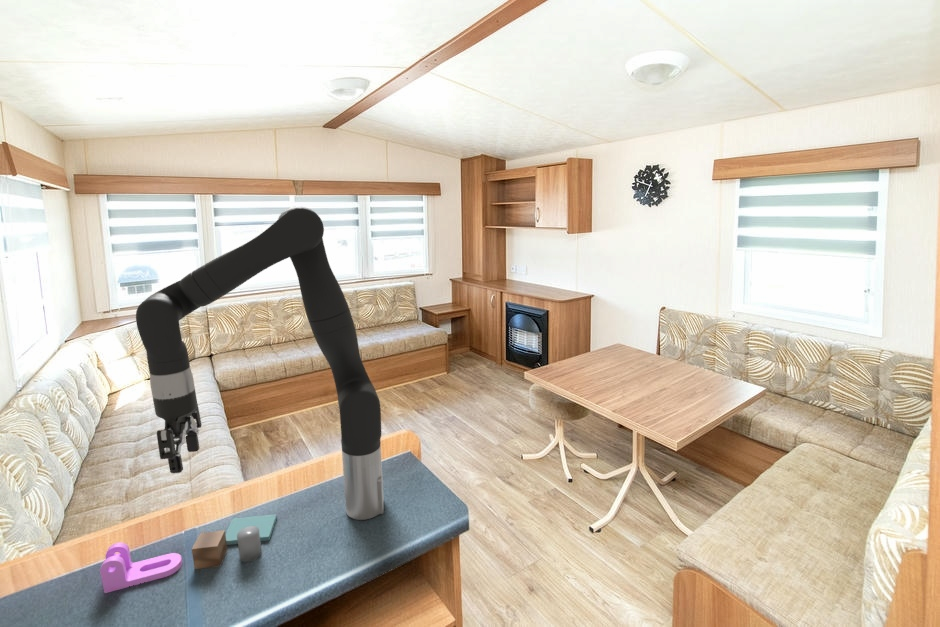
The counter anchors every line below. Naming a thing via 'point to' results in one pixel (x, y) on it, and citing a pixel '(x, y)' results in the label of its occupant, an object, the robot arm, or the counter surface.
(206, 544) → the walnut block
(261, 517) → the teal mat
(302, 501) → the counter surface
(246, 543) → the grey rounded part
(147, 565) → the bracket
